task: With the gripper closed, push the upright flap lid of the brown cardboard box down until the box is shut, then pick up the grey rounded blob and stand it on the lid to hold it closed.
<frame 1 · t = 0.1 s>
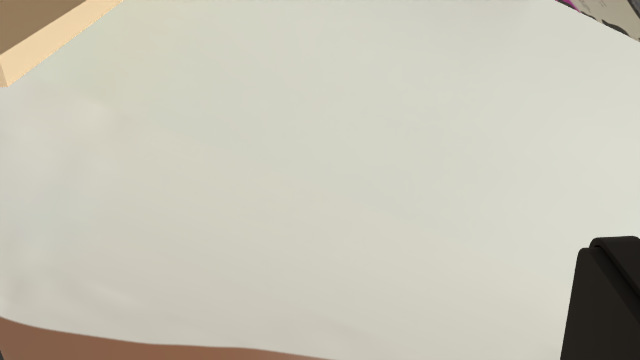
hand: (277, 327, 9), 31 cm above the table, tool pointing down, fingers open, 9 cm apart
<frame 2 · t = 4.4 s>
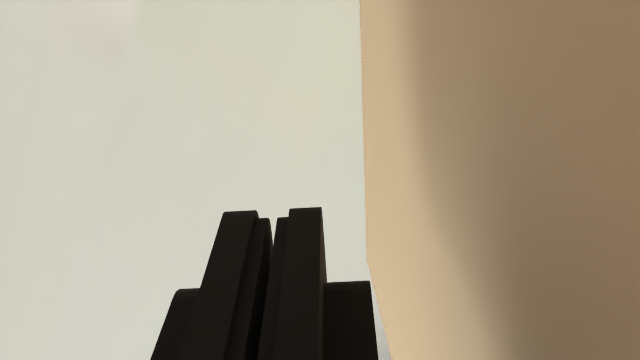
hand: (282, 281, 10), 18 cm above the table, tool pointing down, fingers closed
box lid: (436, 219, 12), point 16 cm above the table, hinge at 85.0°, touching gripper
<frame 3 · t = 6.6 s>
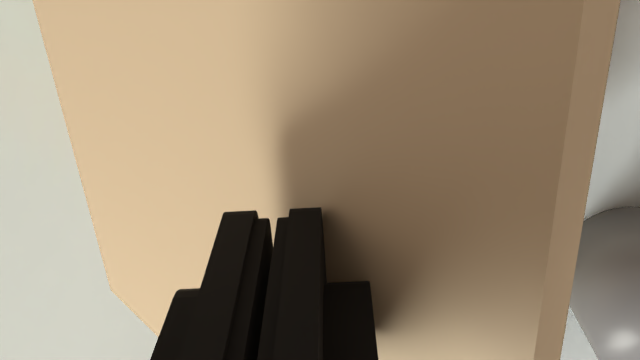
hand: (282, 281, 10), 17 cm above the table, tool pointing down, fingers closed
grey rounded blob: (617, 260, 31), on the table
box lid: (216, 201, 13), point 14 cm above the table, hinge at 45.7°, touching gripper
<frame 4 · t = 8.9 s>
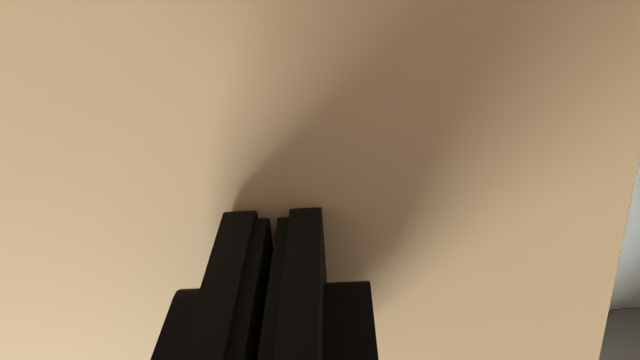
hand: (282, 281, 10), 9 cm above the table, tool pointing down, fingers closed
box lid: (161, 275, 11), point 9 cm above the table, hinge at 2.2°, touching gripper
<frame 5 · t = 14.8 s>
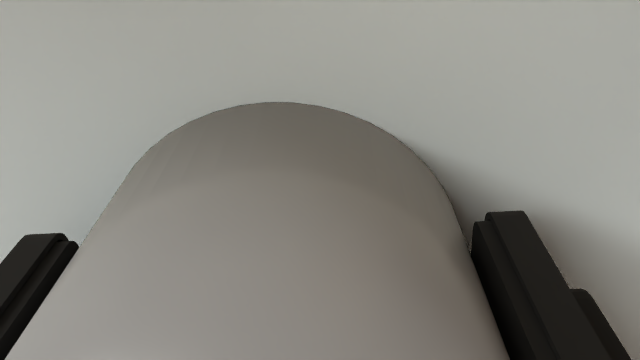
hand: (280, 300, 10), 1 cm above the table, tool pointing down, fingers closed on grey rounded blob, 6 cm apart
grey rounded blob: (284, 269, 11), on the table, touching gripper
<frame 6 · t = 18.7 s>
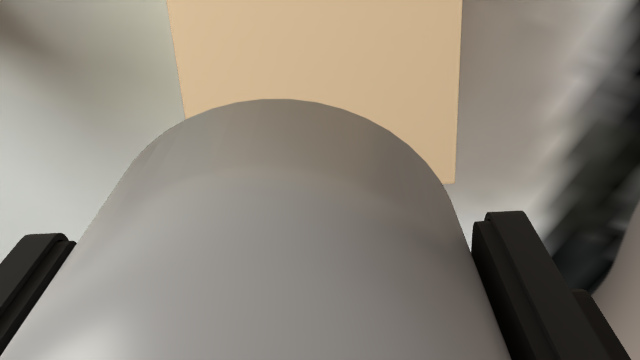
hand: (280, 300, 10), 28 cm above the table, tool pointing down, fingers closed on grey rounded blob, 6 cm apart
grey rounded blob: (283, 267, 11), point 27 cm above the table, touching gripper
box lid: (315, 27, 27), point 9 cm above the table, hinge at 2.2°
when the fingers open (12 cm above the table, at t = 22.4 s): grey rounded blob drops 2 cm, resting on box lid.
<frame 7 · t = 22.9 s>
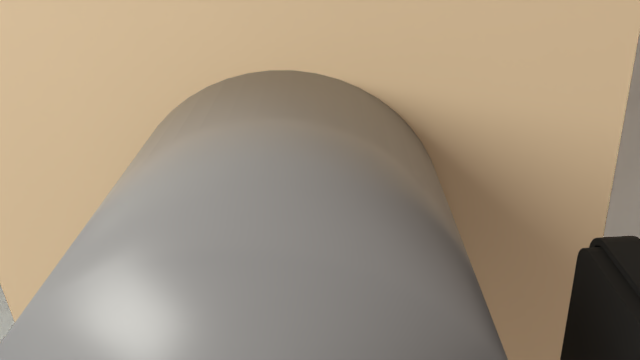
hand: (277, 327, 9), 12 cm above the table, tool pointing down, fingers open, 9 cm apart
grey rounded blob: (286, 221, 12), point 9 cm above the table, touching box lid
box lid: (290, 209, 12), point 9 cm above the table, hinge at 1.0°, touching grey rounded blob
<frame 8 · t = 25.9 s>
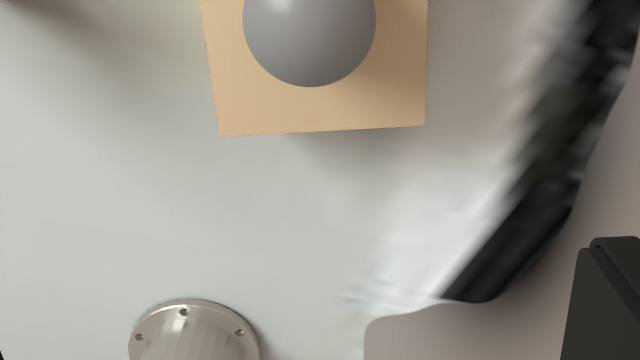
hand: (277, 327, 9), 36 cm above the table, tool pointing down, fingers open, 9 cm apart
grey rounded blob: (312, 1, 33), point 9 cm above the table, touching box lid
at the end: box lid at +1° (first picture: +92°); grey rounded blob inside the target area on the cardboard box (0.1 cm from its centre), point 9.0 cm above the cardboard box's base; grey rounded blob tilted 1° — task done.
